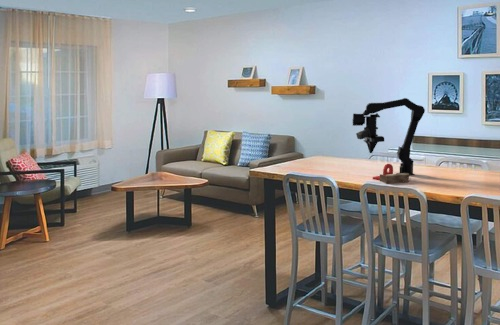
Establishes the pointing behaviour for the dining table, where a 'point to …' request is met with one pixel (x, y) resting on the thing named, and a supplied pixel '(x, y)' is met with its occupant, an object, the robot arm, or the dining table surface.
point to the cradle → (395, 178)
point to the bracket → (385, 171)
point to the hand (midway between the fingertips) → (370, 152)
